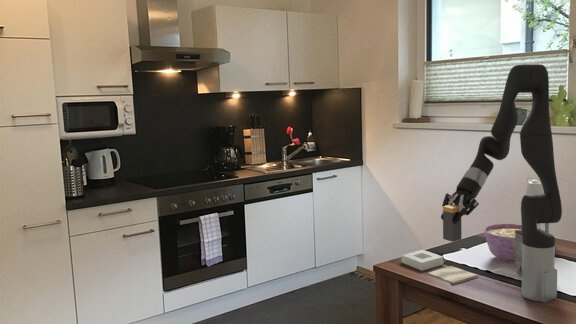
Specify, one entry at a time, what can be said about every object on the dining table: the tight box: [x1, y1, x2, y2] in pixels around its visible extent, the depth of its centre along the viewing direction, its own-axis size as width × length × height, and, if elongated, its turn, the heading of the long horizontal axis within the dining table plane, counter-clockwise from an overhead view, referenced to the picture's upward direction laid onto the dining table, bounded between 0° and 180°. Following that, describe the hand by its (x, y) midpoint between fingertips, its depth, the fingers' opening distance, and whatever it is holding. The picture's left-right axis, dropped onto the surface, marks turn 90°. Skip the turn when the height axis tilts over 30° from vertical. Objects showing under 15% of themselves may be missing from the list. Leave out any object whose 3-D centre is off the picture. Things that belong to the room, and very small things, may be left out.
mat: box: [427, 265, 478, 286], centre depth 183 cm, size 12×12×1 cm
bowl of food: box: [483, 223, 522, 264], centre depth 196 cm, size 20×20×12 cm
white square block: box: [401, 249, 445, 271], centre depth 196 cm, size 11×11×4 cm
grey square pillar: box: [442, 204, 462, 243], centre depth 180 cm, size 4×4×12 cm
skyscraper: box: [525, 177, 550, 234], centre depth 216 cm, size 8×8×28 cm
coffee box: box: [514, 229, 547, 279], centre depth 178 cm, size 9×6×16 cm
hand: (448, 220), depth 179 cm, fingers closed on grey square pillar, 4 cm apart
